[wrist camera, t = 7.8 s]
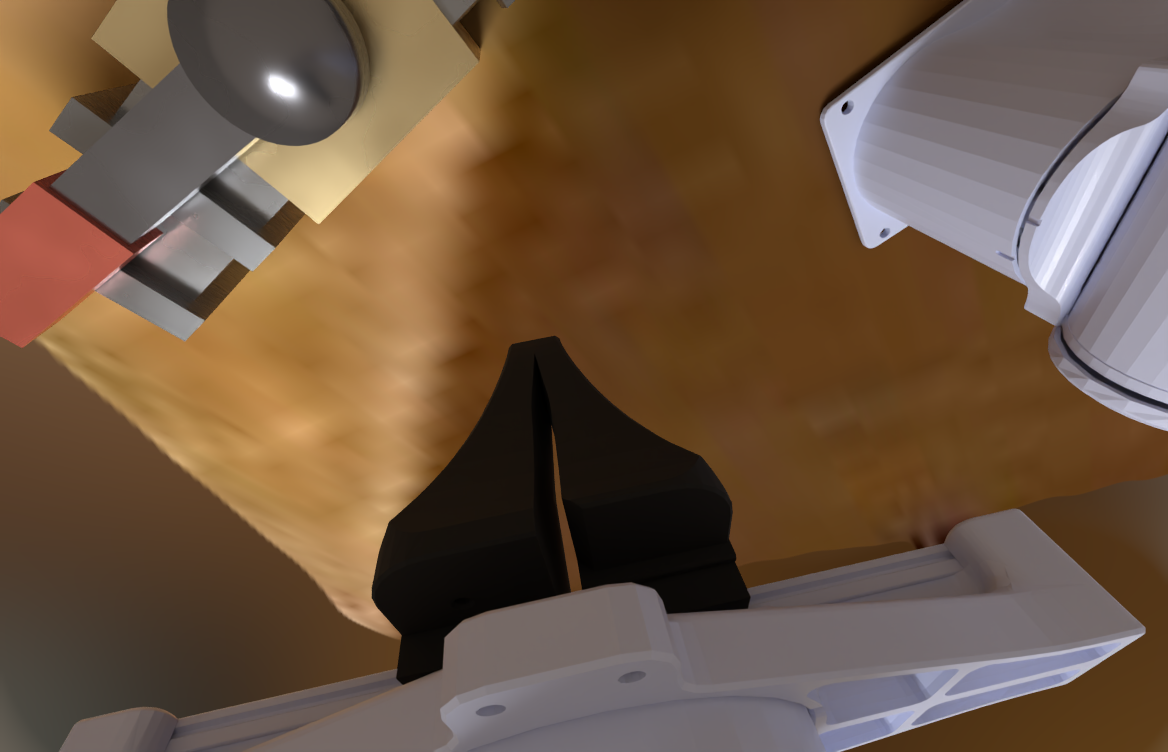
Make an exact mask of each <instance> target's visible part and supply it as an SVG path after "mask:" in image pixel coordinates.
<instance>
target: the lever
mask: <svg viewBox="0 0 1168 752" xmlns="http://www.w3.org/2000/svg"><path fill="white" fill-rule="evenodd" d="M167 21H168V28H169V34H170V38H171V41H172V45H173V48H174V50H175V53H176V55H177V58H178V60H179V62H180V63H179V64H178V65H177V66H176V67H175V68H174V69H173V70H172V71H171V72H170V73H169V74H168V75H167V76H166V77H165V78H163V79H162V80H161V81H160V82H159V83H158V84H157V85H156V86H155V87H154V88H153V89H152V90H151V91H150V92H149V93H148V94H147V95H145V96H144V97H143V98H142V99H141V100H140V101H139V102H138V103H137V104H136V105H135V106H134V107H133V108H132V109H131V110H130V111H129V112H128V113H126V114H125V115H124V116H123V117H122V118H121V119H120V120H119V121H118V122H117V123H116V124H115V125H114V126H113V127H112V128H111V129H110V130H108V131H107V132H106V133H105V134H104V135H103V136H102V137H101V138H100V139H99V140H98V141H97V142H96V143H95V144H94V145H93V146H92V147H91V148H89V149H88V150H87V151H86V152H85V153H84V154H83V155H82V156H81V157H80V158H79V159H78V160H77V161H76V162H75V163H74V164H73V165H72V166H70V167H69V168H68V169H67V170H64V171H62V172H59V173H56V174H54V175H51V176H49V177H46V178H43V179H41V180H38V181H36V182H33V183H32V184H31V185H30V186H29V187H28V188H27V189H26V190H25V191H24V192H23V193H22V194H21V195H20V196H19V197H18V198H17V199H16V200H15V201H13V202H12V203H11V204H10V205H9V206H8V207H7V208H6V209H5V210H4V211H3V212H2V213H1V214H0V336H1V337H3V338H4V339H6V340H8V341H10V342H12V343H14V344H16V345H18V346H20V347H22V348H23V347H24V346H26V345H27V344H28V343H30V342H31V341H33V340H34V339H35V338H37V337H38V336H39V335H41V334H42V333H43V332H45V331H46V330H48V329H49V328H50V327H52V326H53V325H54V324H56V323H57V322H58V321H60V320H61V319H62V318H63V317H64V316H66V315H67V314H68V313H69V312H70V311H72V310H73V309H74V308H75V307H76V306H78V305H79V304H80V303H81V302H82V301H84V300H85V299H86V298H87V297H88V296H89V295H91V294H92V293H93V292H94V291H95V290H97V289H98V288H99V287H100V286H101V285H103V284H104V283H105V282H106V281H107V280H108V279H110V278H111V277H112V276H113V275H114V274H116V273H117V272H118V271H119V270H120V269H122V268H123V267H124V266H125V265H126V264H128V263H129V262H130V261H131V260H132V259H133V258H135V257H136V256H137V255H138V254H139V253H141V252H142V251H143V250H144V249H145V248H147V247H148V246H149V245H150V244H151V243H152V242H154V241H155V240H156V239H157V238H158V237H160V236H161V235H162V234H163V232H162V231H160V230H159V229H158V228H157V226H158V225H159V224H161V223H162V222H163V221H164V220H165V219H166V218H168V217H169V216H170V215H171V214H172V213H174V212H175V211H176V210H177V209H178V208H179V207H181V206H182V205H183V204H184V203H185V202H186V201H188V200H189V199H190V198H191V197H192V196H194V195H195V194H196V193H197V192H198V191H199V190H201V189H202V188H203V187H204V186H205V185H207V184H208V183H209V182H210V181H211V180H212V179H214V178H215V177H216V176H217V175H218V174H219V173H221V172H222V171H223V170H224V169H225V168H227V167H228V166H229V165H230V164H231V163H232V162H234V161H235V160H236V159H237V158H238V157H239V156H241V155H242V154H243V153H244V152H245V151H247V150H248V149H249V148H250V147H251V146H252V145H254V144H255V143H256V142H257V141H258V140H260V139H261V140H264V141H267V142H271V143H274V144H279V145H286V146H303V145H310V144H313V143H317V142H320V141H322V140H324V139H326V138H328V137H329V136H330V135H332V134H333V133H335V132H336V131H337V130H338V129H340V128H341V127H342V126H343V125H344V124H346V123H347V122H348V121H349V120H350V119H351V118H353V117H354V116H355V115H356V113H357V112H358V111H359V109H360V108H361V106H362V104H363V102H364V100H365V98H366V95H367V92H368V87H369V79H370V67H369V58H368V53H367V49H366V46H365V42H364V39H363V37H362V34H361V32H360V29H359V27H358V25H357V23H356V22H355V20H354V18H353V16H352V15H351V13H350V12H349V10H348V9H347V7H346V6H345V4H344V3H343V2H342V1H341V0H168V4H167Z"/></svg>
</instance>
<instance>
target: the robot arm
mask: <svg viewBox="0 0 1168 752" xmlns="http://www.w3.org/2000/svg"><path fill="white" fill-rule="evenodd" d="M846 101H848V106H847V109H846V110H845V111H844V112H842V111H841V109H842V106H843V104H844V103H845V102H846ZM820 122H821V126H822V129H823V131H824V134H825V137H826V140H827V143H828V146H829V149H830V152H831V155H832V158H833V161H834V163H835V166H836V169H837V172H838V175H839V178H840V181H841V184H842V187H843V190H844V193H845V195H846V198H847V201H848V204H849V207H850V210H851V213H852V216H853V219H854V222H855V225H856V228H857V230H858V233H859V236H860V239H861V242H862V244H863V245H864V246H866V247H868V248H874V247H876V246H878V245H879V244H881V243H883V242H884V241H886V240H887V239H889V238H890V237H892V236H893V235H895V234H896V233H898V232H899V231H901V230H902V229H904V228H905V227H907V226H908V225H909V226H911V227H913V228H915V229H917V230H919V231H921V232H923V233H925V234H926V235H928V236H930V237H932V238H934V239H936V240H938V241H940V242H942V243H944V244H946V245H948V246H950V247H952V248H954V249H956V250H958V251H960V252H962V253H963V254H965V255H967V256H969V257H971V258H973V259H975V260H977V261H979V262H981V263H983V264H985V265H987V266H989V267H991V268H993V269H995V270H997V271H999V272H1000V273H1002V274H1004V275H1006V276H1008V277H1010V278H1012V279H1014V280H1016V281H1018V282H1020V283H1022V284H1024V285H1026V286H1027V287H1028V298H1027V300H1026V303H1025V306H1024V309H1026V310H1028V311H1030V312H1031V313H1033V314H1035V315H1037V316H1039V317H1040V318H1042V319H1044V320H1046V321H1047V322H1049V323H1051V324H1053V325H1055V327H1054V329H1053V330H1052V332H1051V335H1050V337H1049V343H1048V350H1049V354H1050V357H1051V360H1052V361H1053V363H1054V364H1055V366H1056V367H1057V369H1058V370H1059V371H1060V372H1061V373H1062V374H1063V375H1064V376H1065V377H1066V378H1067V379H1068V380H1069V381H1070V382H1071V383H1072V384H1074V385H1075V386H1076V387H1077V388H1079V389H1080V390H1081V391H1083V392H1084V393H1086V394H1087V395H1089V396H1091V397H1092V398H1094V399H1095V400H1097V401H1098V402H1100V403H1101V404H1103V405H1105V406H1106V407H1108V408H1110V409H1112V410H1114V411H1116V412H1118V413H1120V414H1122V415H1124V416H1127V417H1129V418H1131V419H1134V420H1136V421H1139V422H1142V423H1144V424H1147V425H1150V426H1153V427H1156V428H1159V429H1162V430H1166V431H1168V0H963V1H962V2H961V3H959V4H958V5H957V6H956V7H954V8H953V9H952V10H950V11H949V12H948V13H946V14H945V15H944V16H942V17H941V18H940V19H939V20H937V21H936V22H935V23H933V24H932V25H931V26H929V27H928V28H927V29H925V30H924V31H923V32H922V33H920V34H919V35H918V36H916V37H915V38H914V39H912V40H911V41H910V42H908V43H907V44H906V45H905V46H903V47H902V48H901V49H899V50H898V51H897V52H895V53H894V54H893V55H891V56H890V57H889V58H888V59H886V60H885V61H884V62H882V63H881V64H880V65H878V66H877V67H876V68H874V69H873V70H872V71H871V72H869V73H868V74H867V75H865V76H864V77H863V78H861V79H860V80H859V81H857V82H856V83H855V84H854V85H852V86H851V87H850V88H848V89H847V90H846V91H844V92H843V93H842V94H840V95H839V96H838V97H837V98H835V99H834V100H833V101H831V102H830V103H829V104H828V105H827V106H826V107H825V108H824V109H823V111H822V113H821V116H820ZM883 229H885V230H884V232H883V233H881V231H882V230H883ZM880 233H881V234H880ZM551 425H552V428H553V432H554V436H555V442H556V450H557V458H558V466H559V475H560V485H561V495H562V501H563V505H564V509H565V513H566V517H567V521H568V525H569V529H570V533H571V537H572V541H573V545H574V549H575V553H576V557H577V561H578V567H579V573H580V579H581V585H582V590H580V591H576V592H572V593H571V589H570V584H569V578H568V572H567V566H566V560H565V553H564V547H563V541H562V535H561V529H560V523H559V516H558V510H557V504H556V494H555V481H554V463H553V445H552V428H551ZM732 513H733V511H732V502H731V500H730V498H729V496H728V494H727V492H726V490H725V488H724V487H723V485H722V484H721V482H720V481H719V479H718V478H717V476H716V475H715V473H714V472H713V471H712V469H711V468H710V467H709V465H708V464H707V463H706V462H705V460H704V459H703V458H702V457H701V456H700V455H697V454H695V453H693V452H691V451H688V450H686V449H684V448H682V447H679V446H677V445H675V444H673V443H670V442H668V441H667V440H665V439H663V438H661V437H659V436H658V435H656V434H654V433H653V432H651V431H650V430H648V429H646V428H645V427H643V426H642V425H640V424H639V423H637V422H636V421H634V420H633V419H631V418H630V417H628V416H627V415H626V414H625V413H623V412H622V411H621V410H619V409H618V408H617V407H616V406H615V405H613V404H612V403H611V402H610V401H609V400H608V399H606V398H605V397H604V396H603V395H602V394H601V393H600V392H599V391H598V390H597V389H596V388H595V387H594V386H593V385H592V384H591V383H590V382H589V381H588V379H587V378H586V377H585V376H584V375H583V374H582V372H581V371H580V370H579V369H578V368H577V366H576V365H575V364H574V362H573V361H572V360H571V358H570V357H569V355H568V354H567V352H566V351H565V349H564V348H563V346H562V344H561V342H560V339H559V338H558V337H556V336H551V337H546V338H541V339H536V340H531V341H526V342H521V343H515V344H512V345H511V346H510V348H509V350H508V355H507V358H506V361H505V364H504V367H503V370H502V373H501V375H500V378H499V380H498V383H497V385H496V387H495V390H494V392H493V394H492V396H491V398H490V400H489V402H488V404H487V406H486V408H485V410H484V412H483V414H482V416H481V417H480V419H479V421H478V423H477V424H476V426H475V428H474V429H473V431H472V432H471V434H470V435H469V437H468V438H467V440H466V441H465V443H464V444H463V445H462V447H461V448H460V449H459V451H458V452H457V454H456V455H455V456H454V458H453V459H452V460H451V461H450V463H449V464H448V465H447V466H446V467H445V469H444V470H443V471H442V472H441V473H440V474H439V475H438V476H437V477H436V478H435V480H434V481H433V482H432V483H431V484H430V485H429V486H428V487H427V488H426V489H425V490H424V491H423V492H422V493H421V494H420V495H419V496H418V497H417V498H416V499H414V500H413V501H412V502H411V503H410V504H409V505H408V506H407V507H406V508H404V509H403V510H402V511H401V512H400V513H399V514H398V515H397V516H396V517H394V518H393V519H392V520H391V521H390V522H389V523H388V527H387V530H386V533H385V536H384V538H383V541H382V544H381V548H380V551H379V555H378V560H377V565H376V570H375V575H374V580H373V585H372V599H373V601H374V603H375V605H376V606H377V608H378V609H379V610H380V611H381V612H382V613H383V615H384V616H385V617H386V618H387V619H388V620H389V621H390V622H391V623H392V625H393V626H394V627H395V628H396V629H397V630H398V631H399V632H400V634H401V635H402V637H401V645H400V652H399V660H398V667H397V669H394V670H390V671H386V672H381V673H376V674H372V675H368V676H363V677H359V678H355V679H350V680H346V681H342V682H337V683H333V684H328V685H324V686H320V687H316V688H311V689H307V690H303V691H298V692H294V693H289V694H285V695H281V696H276V697H272V698H267V699H263V700H259V701H254V702H250V703H245V704H241V705H237V706H233V707H228V708H224V709H219V710H215V711H210V712H206V713H202V714H197V715H193V716H189V717H184V718H180V719H177V718H176V717H175V716H174V715H173V714H171V713H169V712H167V711H165V710H163V709H159V708H155V707H139V708H132V709H128V710H123V711H119V712H114V713H110V714H105V715H101V716H97V717H92V718H88V719H83V720H81V721H79V722H78V723H76V724H75V725H74V726H73V728H72V730H71V732H70V733H69V735H68V737H67V739H66V740H65V742H64V744H63V746H62V747H61V749H60V751H59V752H841V751H844V750H847V749H851V748H854V747H857V746H860V745H863V744H866V743H869V742H873V741H876V740H879V739H882V738H885V737H888V736H891V735H894V734H898V733H901V732H903V731H907V730H910V729H913V728H916V727H919V726H922V725H926V724H929V723H932V722H935V721H938V720H941V719H944V718H947V717H951V716H954V715H957V714H960V713H964V712H967V711H970V710H973V709H977V708H980V707H983V706H987V705H990V704H994V703H997V702H1001V701H1004V700H1008V699H1011V698H1015V697H1018V696H1022V695H1026V694H1030V693H1033V692H1037V691H1041V690H1045V689H1049V688H1053V687H1056V686H1060V685H1064V684H1067V683H1069V682H1071V681H1072V680H1074V679H1075V678H1077V677H1078V676H1080V675H1081V674H1083V673H1084V672H1086V671H1088V670H1089V669H1091V668H1092V667H1094V666H1095V665H1097V664H1099V663H1100V662H1102V661H1103V660H1105V659H1106V658H1108V657H1109V656H1111V655H1112V654H1114V653H1116V652H1117V651H1119V650H1120V649H1122V648H1123V647H1125V646H1126V645H1128V644H1130V643H1131V642H1133V641H1134V640H1136V639H1137V638H1139V637H1140V636H1142V635H1143V634H1145V627H1144V626H1143V625H1142V624H1141V623H1140V622H1139V621H1138V620H1137V619H1136V618H1135V617H1133V616H1132V615H1131V614H1130V613H1129V612H1128V611H1127V610H1126V609H1125V608H1124V607H1123V606H1122V605H1121V604H1120V603H1118V601H1116V600H1115V599H1114V598H1113V597H1112V596H1111V595H1110V594H1109V593H1108V592H1107V591H1106V590H1104V589H1103V587H1102V586H1100V585H1099V584H1098V583H1097V582H1096V581H1095V580H1094V579H1093V578H1092V577H1091V576H1090V575H1089V574H1088V573H1086V572H1085V571H1084V570H1083V569H1082V568H1081V567H1080V566H1079V565H1078V564H1077V563H1076V562H1075V561H1074V560H1073V559H1072V558H1071V557H1070V556H1069V555H1067V554H1066V553H1065V552H1064V551H1063V550H1062V549H1061V548H1060V547H1059V546H1058V545H1057V544H1056V543H1055V542H1054V541H1052V540H1051V539H1050V538H1049V537H1048V536H1047V535H1046V534H1045V533H1044V532H1043V531H1042V530H1041V529H1040V528H1039V527H1038V526H1037V525H1035V524H1034V523H1033V522H1032V521H1031V520H1030V519H1029V518H1028V517H1027V516H1026V515H1025V514H1024V513H1023V512H1022V511H1021V510H1019V509H1010V510H1006V511H1001V512H997V513H992V514H988V515H984V516H979V517H975V518H971V519H968V520H965V521H963V522H961V523H959V524H958V525H956V526H955V527H954V528H953V529H952V530H951V531H950V532H949V534H948V535H947V537H946V540H945V543H944V544H940V545H936V546H931V547H927V548H923V549H918V550H914V551H909V552H905V553H901V554H897V555H892V556H888V557H883V558H879V559H875V560H871V561H866V562H862V563H857V564H853V565H848V566H845V567H840V568H835V569H832V570H826V571H822V572H818V573H814V574H809V575H805V576H801V577H796V578H792V579H787V580H783V581H778V582H774V583H770V584H765V585H761V586H757V587H752V588H748V589H747V588H746V585H745V583H744V581H743V579H742V577H741V574H740V572H739V570H738V568H737V565H736V563H735V561H736V554H735V551H734V549H733V547H732V545H731V543H730V540H729V534H730V527H731V520H732Z"/></svg>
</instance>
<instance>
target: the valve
mask: <svg viewBox="0 0 1168 752" xmlns="http://www.w3.org/2000/svg"><path fill="white" fill-rule="evenodd" d="M341 1H342V2H343V3H344V4H345V6H346V7H347V9H348V10H349V12H350V13H351V15H352V16H353V18H354V20H355V22H356V23H357V25H358V27H359V29H360V32H361V34H362V37H363V39H364V42H365V46H366V49H367V53H368V58H369V67H370V79H369V87H368V92H367V95H366V98H365V100H364V102H363V104H362V106H361V108H360V109H359V111H358V112H357V113H356V115H355V116H354V117H353V118H351V119H350V120H349V121H348V122H347V123H346V124H344V125H343V126H342V127H341V128H340V129H338V130H337V131H336V132H335V133H333V134H332V135H330V136H329V137H328V138H326V139H324V140H322V141H320V142H317V143H313V144H310V145H303V146H286V145H279V144H274V143H271V142H267V141H264V140H261V139H260V140H258V141H257V142H256V143H255V144H254V145H252V146H251V147H250V148H249V149H248V150H247V151H245V152H244V153H243V154H242V155H241V156H239V157H238V158H237V159H236V160H235V161H234V162H232V163H231V164H230V165H229V166H228V167H227V168H225V169H224V170H223V171H222V172H221V173H219V174H218V175H217V176H216V177H215V178H214V179H212V180H211V181H210V182H209V183H208V184H207V185H205V186H204V187H203V188H202V189H201V190H199V191H198V192H197V193H196V194H195V195H194V196H192V197H191V198H190V199H189V200H188V201H186V202H185V203H184V204H183V205H182V206H181V207H179V208H178V209H177V210H176V211H175V212H174V213H172V214H171V215H170V216H169V217H168V218H166V219H165V220H164V221H163V222H162V223H161V224H159V225H158V226H157V228H158V229H159V230H160V231H162V232H163V234H162V235H161V236H160V237H158V238H157V239H156V240H155V241H154V242H152V243H151V244H150V245H149V246H148V247H147V248H145V249H144V250H143V251H142V252H141V253H139V254H138V255H137V256H136V257H135V258H133V259H132V260H131V261H130V262H129V263H128V264H126V265H125V266H124V267H123V268H122V269H120V270H119V271H118V272H117V273H116V274H114V275H113V276H112V277H111V278H110V279H108V280H107V281H106V282H105V283H104V284H103V285H101V286H100V287H99V288H98V289H97V290H95V291H96V292H98V293H100V294H101V295H103V296H105V297H107V298H109V299H110V300H112V301H114V302H116V303H118V304H119V305H121V306H123V307H125V308H127V309H128V310H130V311H132V312H134V313H135V314H137V315H139V316H141V317H143V318H144V319H146V320H148V321H150V322H152V323H153V324H155V325H157V326H159V327H160V328H162V329H164V330H166V331H168V332H169V333H171V334H173V335H175V336H177V337H178V338H180V339H182V340H184V341H186V340H187V339H188V338H189V337H190V335H191V334H192V333H193V332H194V331H195V330H196V329H197V328H198V327H199V326H200V325H201V324H202V323H203V322H204V321H205V320H206V319H207V318H208V317H209V315H210V314H211V313H212V312H213V311H214V310H215V309H216V308H217V307H218V305H219V304H220V303H221V302H222V301H223V300H224V299H225V298H226V297H227V295H228V294H229V293H230V292H231V291H232V290H233V289H234V288H235V287H236V285H237V284H238V283H239V282H240V281H241V280H242V279H243V278H244V277H245V275H246V274H247V273H248V272H249V271H250V270H251V271H253V270H254V269H255V268H256V267H257V266H258V265H259V264H260V263H261V262H262V261H263V260H264V259H265V258H266V257H267V256H268V255H269V254H270V253H271V252H272V251H273V250H274V249H275V248H276V247H277V245H278V244H279V243H280V242H281V241H282V240H283V239H284V237H285V236H286V235H287V234H288V233H289V232H290V231H291V229H292V228H293V227H294V226H295V225H296V224H297V223H298V221H299V220H300V219H301V218H302V217H303V216H304V215H305V214H307V215H308V216H309V217H310V218H312V219H313V220H314V221H315V222H316V223H318V224H320V223H321V222H322V221H323V220H324V219H325V218H326V217H327V216H328V214H329V213H330V212H331V211H332V210H333V209H334V208H335V207H336V206H337V205H338V204H339V203H340V202H341V201H342V200H343V199H344V198H345V197H346V196H347V195H348V194H349V193H350V192H351V191H352V190H353V189H354V188H355V187H356V186H357V185H358V184H359V183H360V182H361V181H362V180H363V179H364V178H365V177H366V176H367V175H368V174H369V173H370V172H371V171H372V170H373V169H374V168H375V167H376V166H377V165H378V164H379V163H380V162H381V161H382V160H383V159H384V158H385V157H386V156H387V155H388V154H389V153H390V152H391V151H392V150H393V149H394V148H395V147H396V146H397V145H398V144H399V143H400V142H401V141H402V140H403V138H404V137H405V136H406V135H407V134H408V133H409V132H410V131H411V130H412V129H413V128H414V127H415V126H416V125H417V124H418V123H419V122H420V121H421V120H422V119H423V118H424V117H425V116H426V115H427V114H428V113H429V112H430V111H431V110H432V109H433V108H434V107H435V106H436V105H437V104H438V103H439V102H440V101H441V100H442V99H443V98H444V97H445V96H446V95H447V94H448V93H449V92H450V91H451V90H452V89H453V88H454V87H455V86H456V85H457V84H458V83H459V82H460V81H461V80H462V79H463V78H464V77H465V76H466V75H467V74H468V73H469V72H470V71H471V70H472V69H473V68H474V67H475V66H476V65H477V64H478V62H479V59H480V51H481V50H480V48H479V47H478V45H477V44H476V43H475V41H474V40H473V39H472V37H471V36H470V35H469V33H468V32H467V31H466V29H465V28H464V27H463V25H462V24H461V23H460V20H461V19H462V18H463V17H464V16H465V15H466V14H467V13H468V12H469V11H470V10H471V9H472V8H473V7H474V5H475V4H476V3H477V2H478V1H479V0H341ZM514 1H515V0H497V2H498V3H499V4H500V6H501V7H502V8H508V7H509V6H510V5H511V4H512V3H513V2H514ZM167 4H168V0H117V1H116V2H115V4H114V5H113V7H112V8H111V10H110V11H109V13H108V14H107V16H106V17H105V19H104V20H103V22H102V23H101V25H100V26H99V28H98V29H97V31H96V32H95V34H94V35H93V37H92V38H91V39H92V40H94V41H95V42H96V43H97V44H98V45H100V46H101V47H102V48H103V49H105V50H106V51H107V52H108V53H109V54H111V55H112V56H113V57H114V58H116V59H117V60H118V61H119V62H121V63H122V64H123V65H124V66H125V67H127V68H128V69H129V70H130V71H132V72H133V73H134V74H135V75H136V76H138V77H139V78H140V81H139V82H138V83H136V84H131V85H127V86H122V87H117V88H113V89H108V90H103V91H99V92H94V93H89V94H85V95H80V96H75V97H72V98H71V99H70V101H69V102H68V104H67V105H66V107H65V108H64V110H63V111H62V112H61V114H60V115H59V117H58V118H57V120H56V121H55V123H54V124H53V126H52V127H51V129H50V130H49V131H50V132H52V133H53V134H54V135H56V136H57V137H59V138H60V139H62V140H63V141H65V142H66V143H67V144H69V145H70V146H72V147H73V148H75V149H76V150H78V151H79V152H80V153H82V154H84V153H85V152H86V151H87V150H88V149H89V148H91V147H92V146H93V145H94V144H95V143H96V142H97V141H98V140H99V139H100V138H101V137H102V136H103V135H104V134H105V133H106V132H107V131H108V130H110V129H111V128H112V127H113V126H114V125H115V124H116V123H117V122H118V121H119V120H120V119H121V118H122V117H123V116H124V115H125V114H126V113H128V112H129V111H130V110H131V109H132V108H133V107H134V106H135V105H136V104H137V103H138V102H139V101H140V100H141V99H142V98H143V97H144V96H145V95H147V94H148V93H149V92H150V91H151V90H152V89H153V88H154V87H155V86H156V85H157V84H158V83H159V82H160V81H161V80H162V79H163V78H165V77H166V76H167V75H168V74H169V73H170V72H171V71H172V70H173V69H174V68H175V67H176V66H177V65H178V64H179V63H180V62H179V60H178V58H177V55H176V53H175V50H174V48H173V45H172V41H171V38H170V34H169V28H168V21H167ZM23 192H24V191H23ZM23 192H20V193H18V194H15V195H13V196H10V197H8V198H5V199H3V200H1V202H0V214H1V213H2V212H3V211H4V210H5V209H6V208H7V207H8V206H9V205H10V204H11V203H12V202H13V201H15V200H16V199H17V198H18V197H19V196H20V195H21V194H22V193H23Z"/></svg>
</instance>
